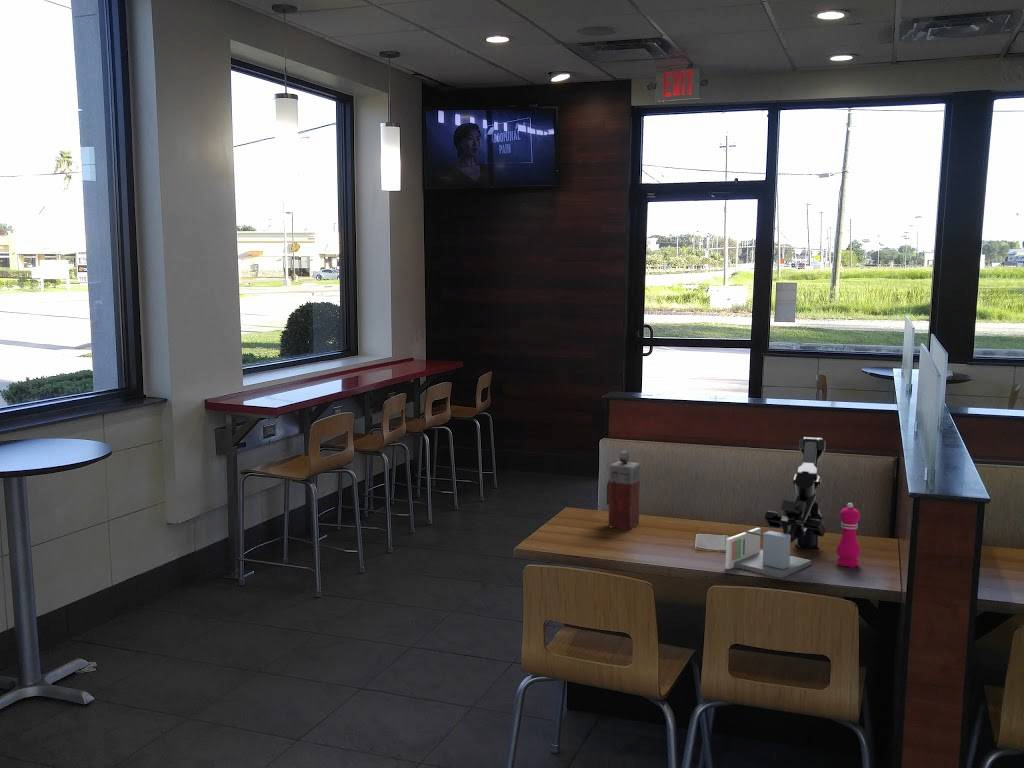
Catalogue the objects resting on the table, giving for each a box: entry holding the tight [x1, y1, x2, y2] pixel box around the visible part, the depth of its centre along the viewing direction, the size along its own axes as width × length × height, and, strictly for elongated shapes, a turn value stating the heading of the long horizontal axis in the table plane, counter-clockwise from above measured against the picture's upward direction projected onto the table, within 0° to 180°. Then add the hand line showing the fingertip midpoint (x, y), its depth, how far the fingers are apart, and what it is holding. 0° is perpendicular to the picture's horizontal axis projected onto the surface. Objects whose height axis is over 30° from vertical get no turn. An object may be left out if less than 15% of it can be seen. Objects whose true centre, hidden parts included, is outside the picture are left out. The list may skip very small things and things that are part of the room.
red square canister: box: [606, 450, 641, 530], centre depth 332 cm, size 9×11×28 cm
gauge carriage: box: [744, 530, 791, 569], centre depth 280 cm, size 5×14×10 cm, turn 45°
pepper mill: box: [835, 502, 862, 568], centre depth 284 cm, size 7×7×20 cm
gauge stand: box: [725, 527, 812, 579], centre depth 282 cm, size 22×17×10 cm
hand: (784, 545), depth 281 cm, fingers closed
